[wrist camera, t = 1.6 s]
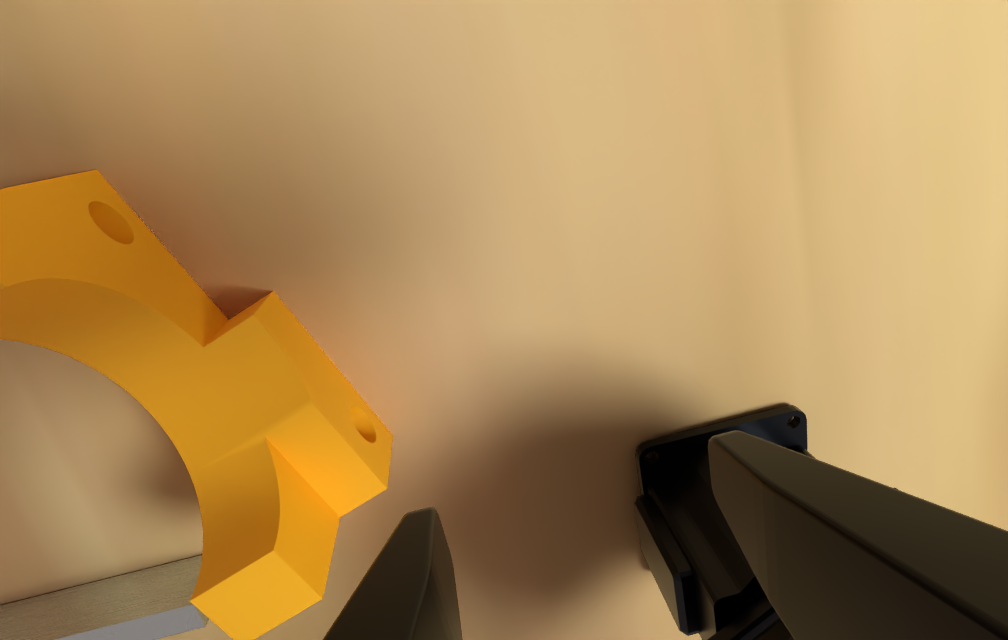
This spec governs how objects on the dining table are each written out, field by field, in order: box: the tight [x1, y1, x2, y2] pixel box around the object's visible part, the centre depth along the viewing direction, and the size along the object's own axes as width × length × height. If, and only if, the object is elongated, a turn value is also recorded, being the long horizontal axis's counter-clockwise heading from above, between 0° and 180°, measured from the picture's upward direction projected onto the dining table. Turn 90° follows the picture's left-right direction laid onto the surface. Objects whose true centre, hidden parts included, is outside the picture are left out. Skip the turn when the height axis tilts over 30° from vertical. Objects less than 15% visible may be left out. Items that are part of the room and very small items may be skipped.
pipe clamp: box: [0, 170, 393, 640], centre depth 16 cm, size 12×4×6 cm, turn 31°
